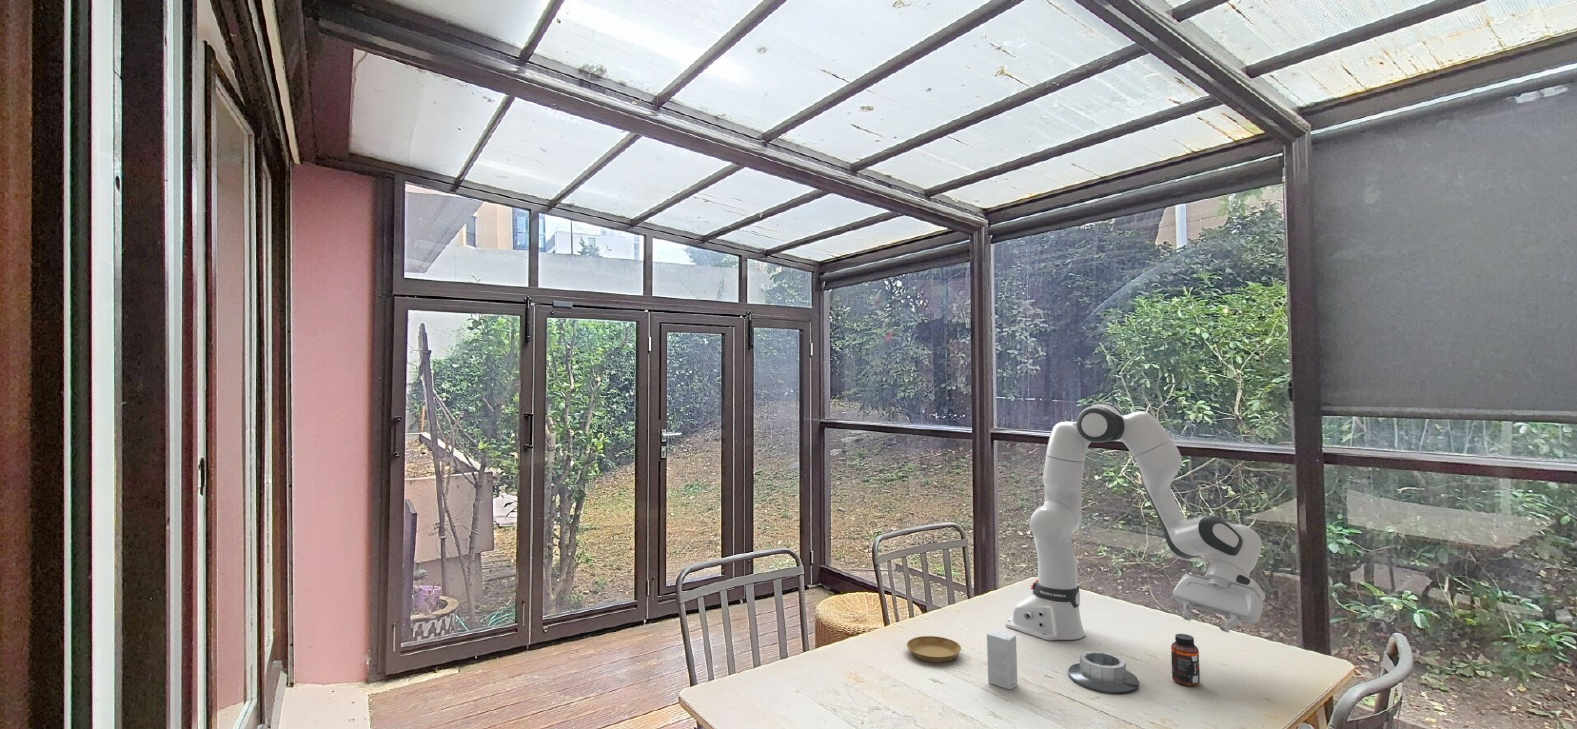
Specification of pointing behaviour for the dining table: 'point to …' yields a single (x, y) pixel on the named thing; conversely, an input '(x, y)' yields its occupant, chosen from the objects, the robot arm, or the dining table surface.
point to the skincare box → (1002, 659)
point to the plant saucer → (934, 648)
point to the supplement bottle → (1185, 661)
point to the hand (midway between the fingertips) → (1204, 624)
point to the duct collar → (1103, 673)
